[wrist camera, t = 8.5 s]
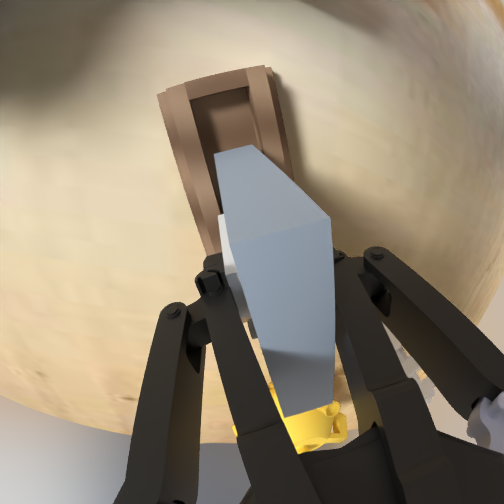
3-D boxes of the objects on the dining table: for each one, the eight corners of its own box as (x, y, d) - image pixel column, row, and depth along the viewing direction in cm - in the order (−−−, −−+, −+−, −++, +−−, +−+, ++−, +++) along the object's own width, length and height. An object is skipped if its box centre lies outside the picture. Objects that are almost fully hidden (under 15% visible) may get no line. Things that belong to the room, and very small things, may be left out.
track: (159, 95, 16) (151, 93, 14) (268, 68, 17) (278, 63, 14) (227, 307, 27) (230, 329, 24) (305, 285, 27) (315, 305, 25)
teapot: (252, 348, 31) (271, 434, 21) (366, 354, 36) (398, 414, 26) (212, 420, 39) (219, 479, 30) (305, 419, 45) (320, 468, 35)
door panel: (205, 156, 17) (206, 251, 6) (252, 144, 17) (330, 217, 6) (241, 280, 22) (273, 420, 12) (278, 270, 22) (332, 403, 12)
